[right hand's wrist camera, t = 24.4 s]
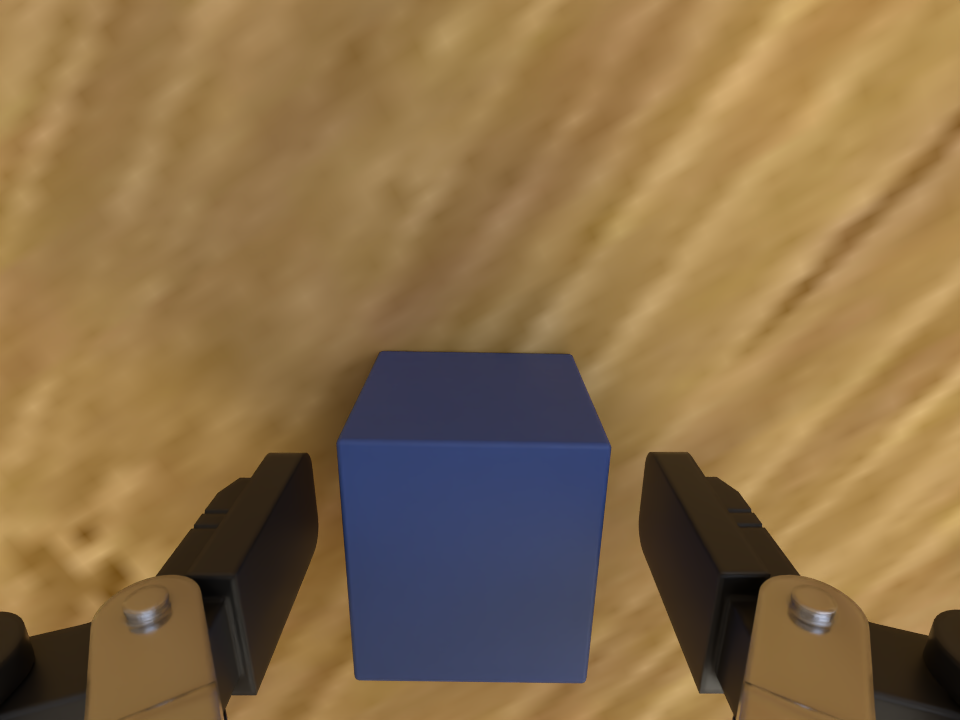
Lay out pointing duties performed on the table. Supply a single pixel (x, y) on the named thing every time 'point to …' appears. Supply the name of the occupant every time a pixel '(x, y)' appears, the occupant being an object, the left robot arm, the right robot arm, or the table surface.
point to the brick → (472, 518)
